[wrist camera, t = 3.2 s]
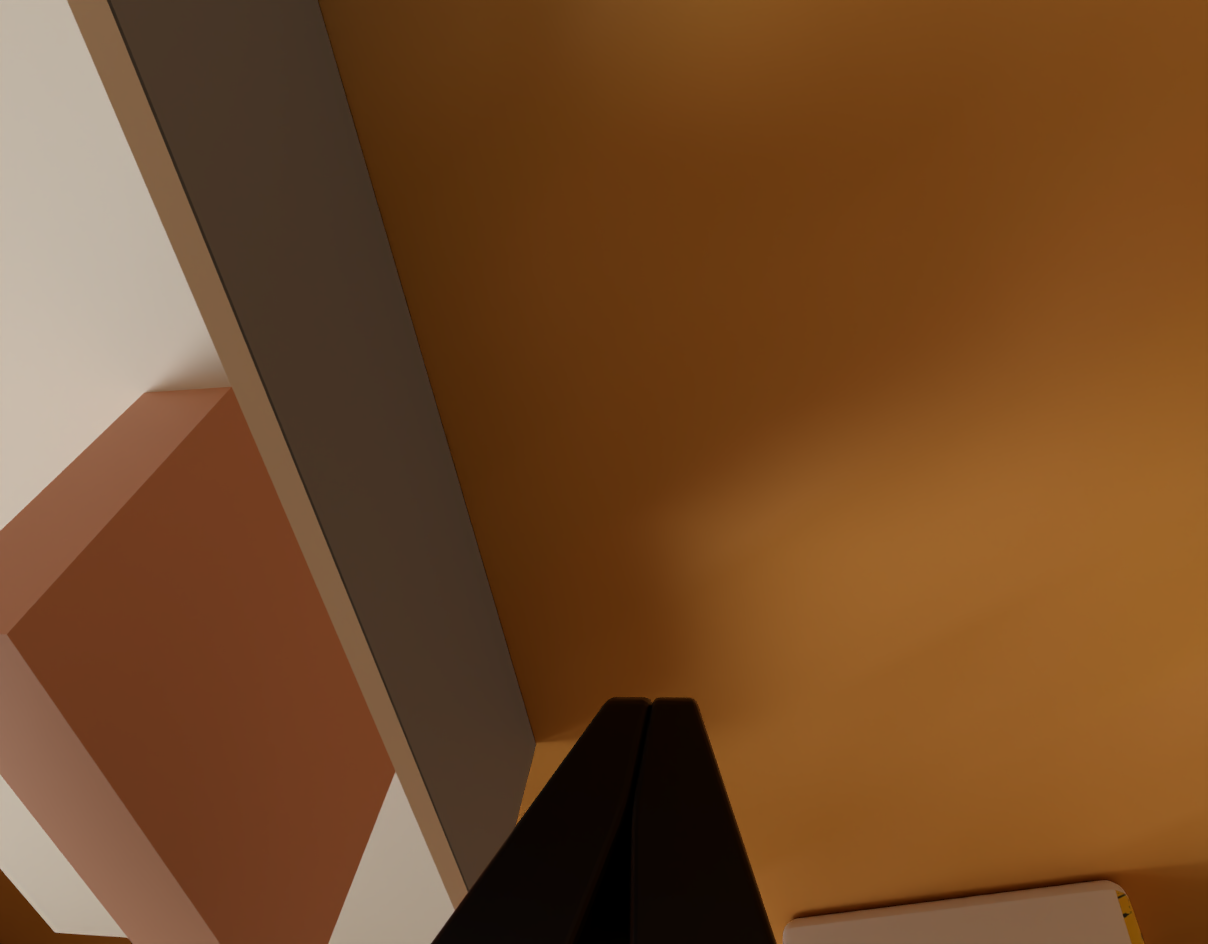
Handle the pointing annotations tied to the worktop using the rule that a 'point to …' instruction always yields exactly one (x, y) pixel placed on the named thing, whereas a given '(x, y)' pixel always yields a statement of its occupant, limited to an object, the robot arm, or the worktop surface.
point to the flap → (169, 567)
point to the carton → (342, 377)
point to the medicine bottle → (985, 920)
